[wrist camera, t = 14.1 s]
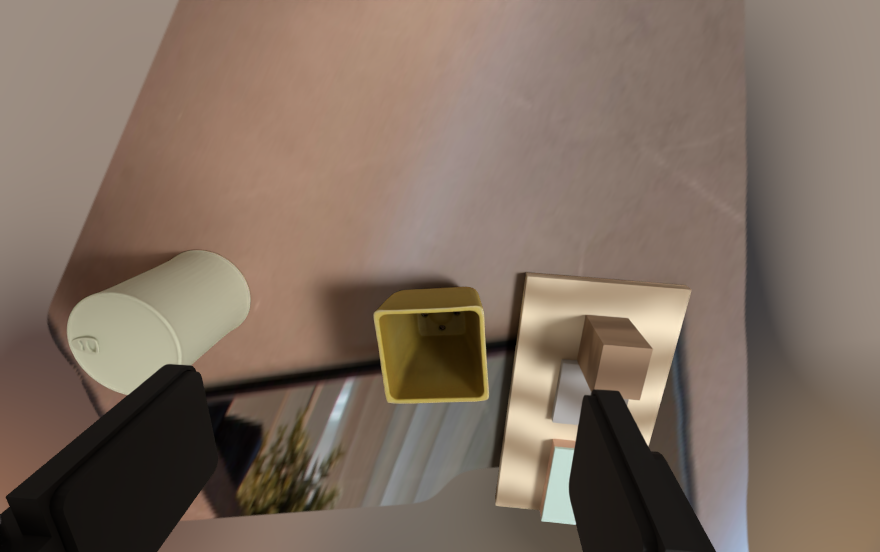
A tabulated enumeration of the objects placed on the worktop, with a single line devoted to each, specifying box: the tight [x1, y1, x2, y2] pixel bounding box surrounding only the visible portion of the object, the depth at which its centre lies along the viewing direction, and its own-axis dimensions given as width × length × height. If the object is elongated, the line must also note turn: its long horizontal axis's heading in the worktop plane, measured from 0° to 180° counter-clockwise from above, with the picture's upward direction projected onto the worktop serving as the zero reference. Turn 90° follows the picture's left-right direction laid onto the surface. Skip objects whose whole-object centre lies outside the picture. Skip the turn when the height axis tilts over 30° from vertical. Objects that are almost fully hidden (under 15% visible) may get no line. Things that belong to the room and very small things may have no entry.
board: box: [495, 272, 691, 510], centre depth 46 cm, size 28×15×1 cm, turn 176°
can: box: [67, 250, 251, 395], centre depth 39 cm, size 9×9×12 cm
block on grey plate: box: [551, 315, 653, 425], centre depth 41 cm, size 12×7×6 cm, turn 176°
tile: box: [540, 439, 576, 525], centre depth 47 cm, size 2×8×10 cm
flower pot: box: [373, 287, 489, 403], centre depth 40 cm, size 9×9×9 cm
